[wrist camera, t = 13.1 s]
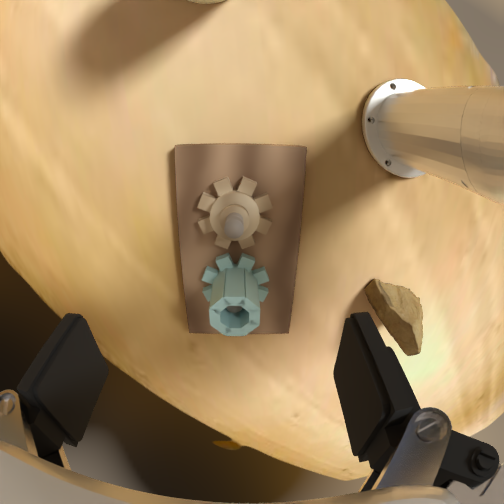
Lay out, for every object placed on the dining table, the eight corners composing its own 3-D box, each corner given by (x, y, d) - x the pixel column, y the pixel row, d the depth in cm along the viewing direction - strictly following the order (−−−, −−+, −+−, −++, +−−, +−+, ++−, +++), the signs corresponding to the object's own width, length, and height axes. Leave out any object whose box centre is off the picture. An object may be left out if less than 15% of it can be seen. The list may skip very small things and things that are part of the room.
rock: (348, 302, 36) (371, 349, 39) (401, 307, 29) (418, 359, 31) (384, 254, 41) (402, 301, 43) (431, 252, 33) (445, 304, 36)
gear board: (303, 146, 30) (320, 152, 24) (287, 326, 41) (294, 360, 34) (177, 144, 29) (160, 150, 23) (190, 326, 40) (183, 360, 34)
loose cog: (270, 253, 34) (276, 284, 27) (266, 308, 37) (271, 345, 31) (201, 252, 33) (192, 283, 27) (204, 308, 37) (198, 344, 30)
